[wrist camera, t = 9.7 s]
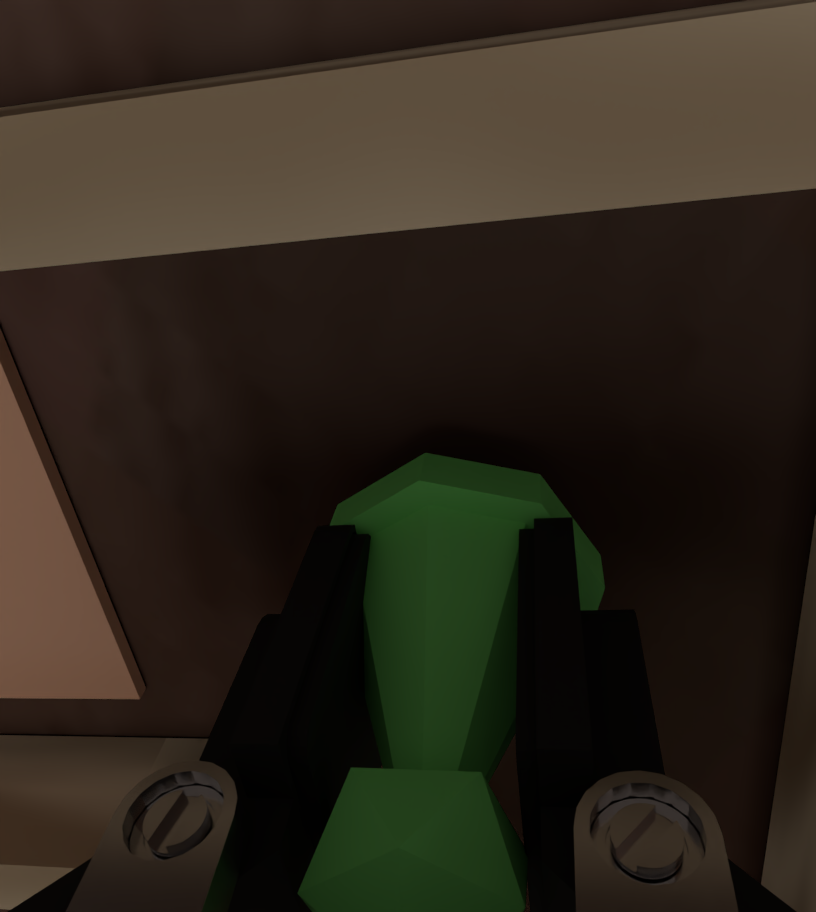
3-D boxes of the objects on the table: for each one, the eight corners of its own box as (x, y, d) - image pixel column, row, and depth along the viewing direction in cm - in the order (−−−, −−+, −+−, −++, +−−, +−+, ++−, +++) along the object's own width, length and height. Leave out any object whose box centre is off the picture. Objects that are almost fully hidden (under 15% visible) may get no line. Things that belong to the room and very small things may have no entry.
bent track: (817, 971, 18) (866, 1132, 15) (-54, 914, 22) (-130, 1034, 20) (1047, -44, 8) (1277, -65, 6) (-573, 189, 12) (-859, 238, 10)
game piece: (365, 685, 13) (263, 1103, 8) (285, 475, 12) (88, 849, 6) (619, 662, 12) (684, 1122, 7) (578, 427, 11) (626, 827, 5)
